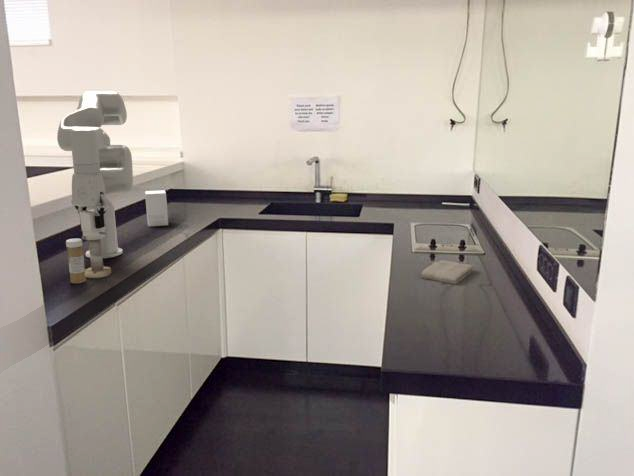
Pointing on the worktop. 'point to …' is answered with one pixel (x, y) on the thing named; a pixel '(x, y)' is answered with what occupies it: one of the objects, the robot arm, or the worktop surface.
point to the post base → (99, 274)
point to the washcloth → (447, 271)
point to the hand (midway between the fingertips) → (92, 226)
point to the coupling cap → (90, 226)
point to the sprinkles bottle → (76, 260)
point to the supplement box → (156, 208)
